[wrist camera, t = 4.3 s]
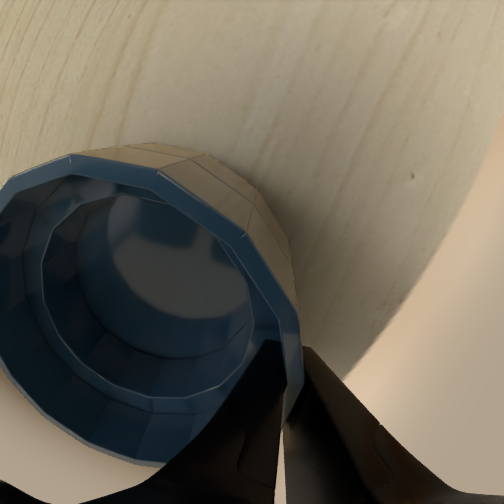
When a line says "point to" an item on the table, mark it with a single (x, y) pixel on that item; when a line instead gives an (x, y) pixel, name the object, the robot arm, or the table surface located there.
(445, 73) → the table surface
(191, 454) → the robot arm
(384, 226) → the table surface
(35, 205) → the bowl
